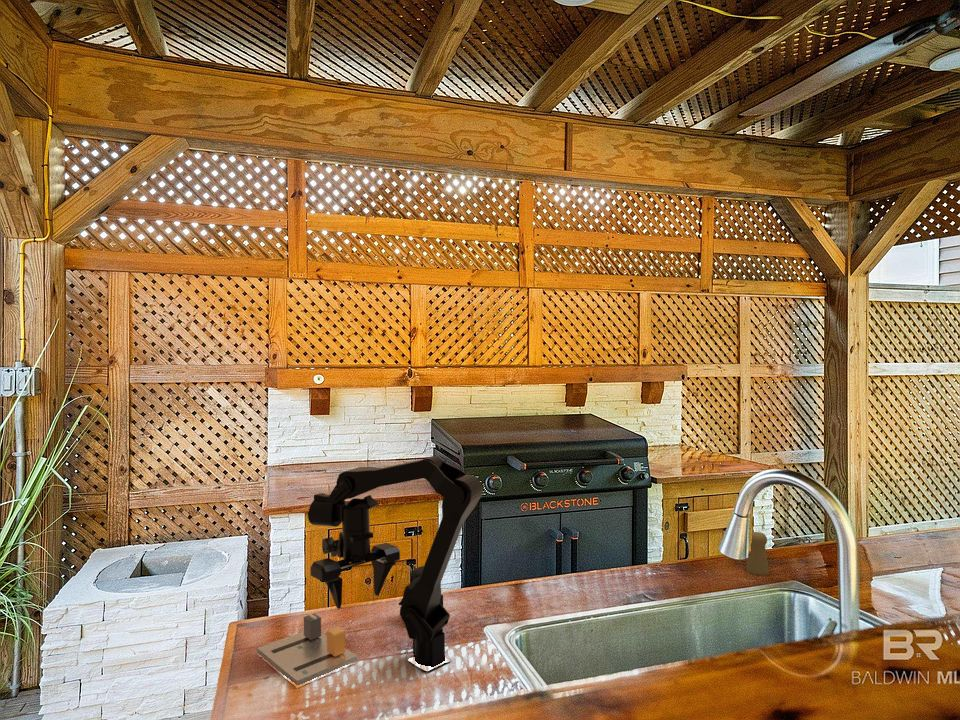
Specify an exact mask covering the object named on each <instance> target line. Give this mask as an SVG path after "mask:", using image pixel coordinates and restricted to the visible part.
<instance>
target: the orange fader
mask: <svg viewBox="0 0 960 720" xmlns="http://www.w3.org/2000/svg"><path fill="white" fill-rule="evenodd" d="M326 636H327V652H329V653H330V654H331V655H333V656H334V657H335V656H337V655H340V654H342V653H345V648H346V629H344V628H342V627H341V626H339V625H335V626H334V627H330V628H328V629H326Z"/></svg>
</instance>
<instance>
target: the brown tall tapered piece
mask: <svg viewBox="0 0 960 720" xmlns="http://www.w3.org/2000/svg"><path fill="white" fill-rule="evenodd" d="M751 532H752V543H751V552H750V555H749V558H748V557H747V558H748V559H746V569H745V571H746V572H748V573H749V574H752V573H753V574H752V575H756V574H759V575H758V576H767V575H769V574H770V568H769V562H768V557H767V550H766V549H767V548H766V545H767V542H768V537H767V535H766V534H765V533H763V532H759V531H751ZM766 574H767V575H766Z"/></svg>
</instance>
